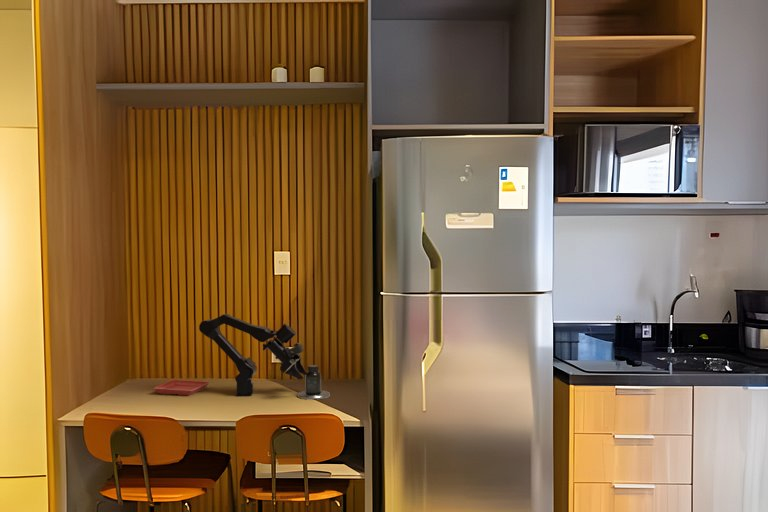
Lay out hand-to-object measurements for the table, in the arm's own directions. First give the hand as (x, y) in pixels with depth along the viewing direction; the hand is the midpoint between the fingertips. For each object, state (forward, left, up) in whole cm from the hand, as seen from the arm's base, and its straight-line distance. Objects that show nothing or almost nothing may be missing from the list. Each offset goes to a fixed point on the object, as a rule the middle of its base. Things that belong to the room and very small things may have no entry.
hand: (304, 376), depth 283 cm
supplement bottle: (+4, -1, -7) cm, 8 cm away
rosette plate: (+4, -1, -8) cm, 9 cm away
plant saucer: (-54, +15, -9) cm, 57 cm away
